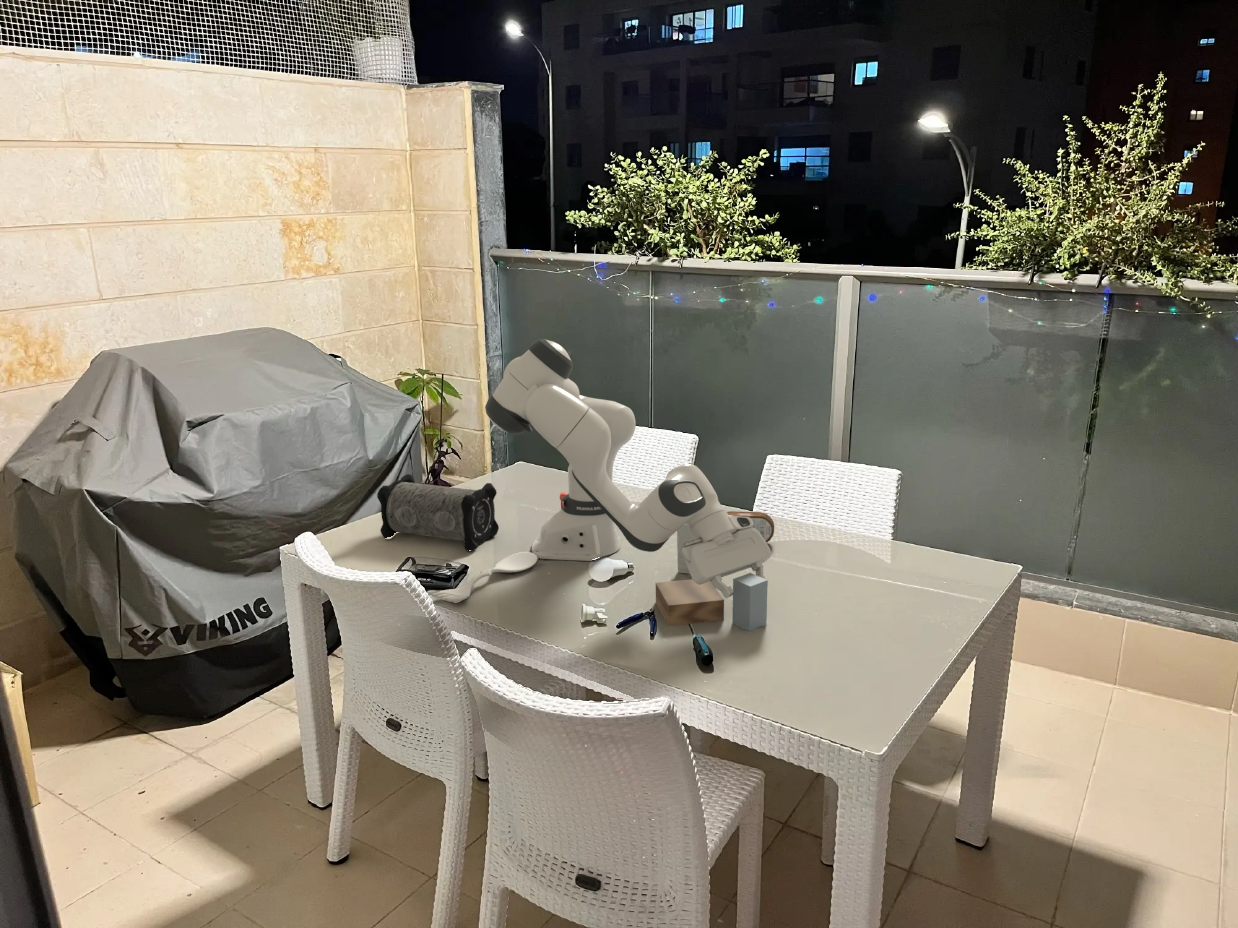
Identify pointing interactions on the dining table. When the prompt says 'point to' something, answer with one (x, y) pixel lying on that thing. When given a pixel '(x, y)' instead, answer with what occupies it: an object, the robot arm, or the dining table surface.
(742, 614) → the slate block
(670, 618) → the walnut block
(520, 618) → the dining table surface
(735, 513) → the tin
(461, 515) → the speaker
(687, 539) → the supplement box
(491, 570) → the spoon
